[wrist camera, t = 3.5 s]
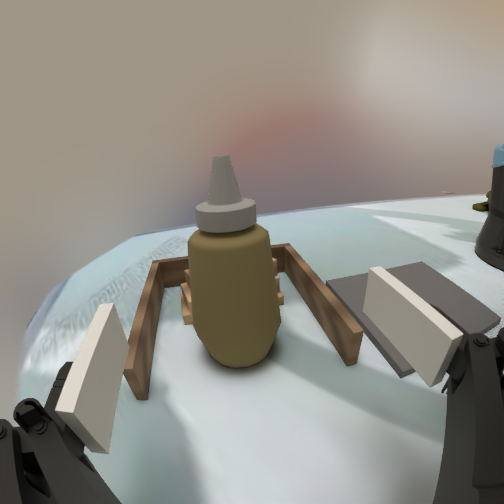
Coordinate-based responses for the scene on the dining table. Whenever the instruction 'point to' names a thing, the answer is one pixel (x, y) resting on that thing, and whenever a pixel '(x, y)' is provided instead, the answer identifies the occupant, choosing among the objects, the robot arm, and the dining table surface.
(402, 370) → the charcoal mat
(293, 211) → the dining table surface
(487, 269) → the dining table surface
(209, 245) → the squeeze bottle
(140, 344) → the walnut open frame
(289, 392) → the dining table surface
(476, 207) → the green turtle
